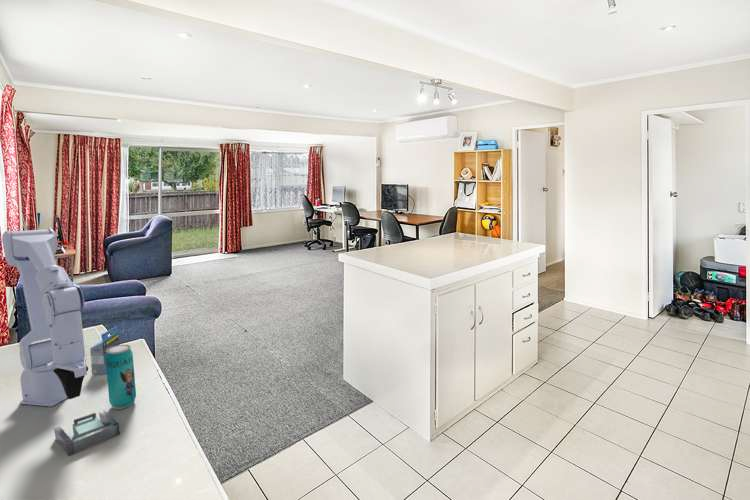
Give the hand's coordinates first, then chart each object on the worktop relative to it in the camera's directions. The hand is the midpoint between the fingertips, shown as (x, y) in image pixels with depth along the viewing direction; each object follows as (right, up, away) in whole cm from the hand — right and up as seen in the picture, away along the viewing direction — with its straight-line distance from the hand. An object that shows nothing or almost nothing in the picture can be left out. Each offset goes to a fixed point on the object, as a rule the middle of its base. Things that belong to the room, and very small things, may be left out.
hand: (73, 396), depth 92 cm
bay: (+6, -7, -3) cm, 10 cm away
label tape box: (-12, -3, +30) cm, 33 cm away
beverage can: (+5, -6, +10) cm, 12 cm away
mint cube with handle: (+6, -8, -3) cm, 10 cm away
